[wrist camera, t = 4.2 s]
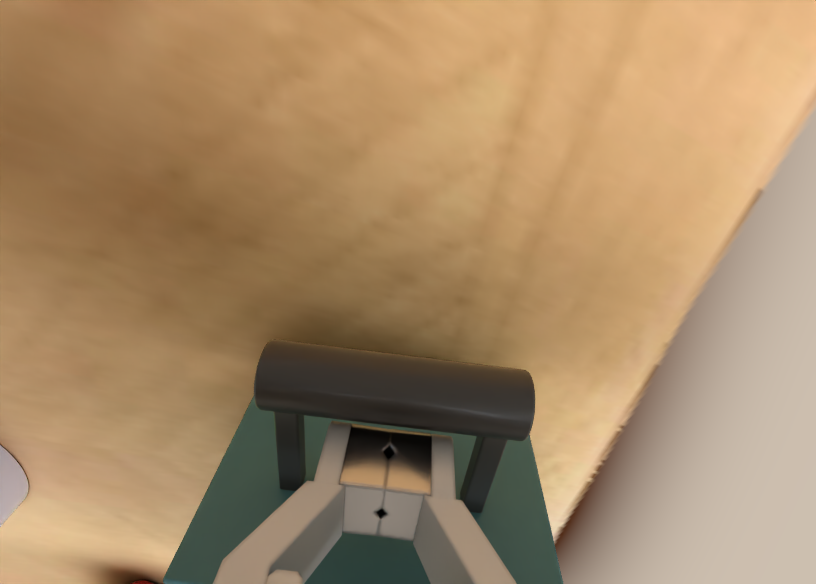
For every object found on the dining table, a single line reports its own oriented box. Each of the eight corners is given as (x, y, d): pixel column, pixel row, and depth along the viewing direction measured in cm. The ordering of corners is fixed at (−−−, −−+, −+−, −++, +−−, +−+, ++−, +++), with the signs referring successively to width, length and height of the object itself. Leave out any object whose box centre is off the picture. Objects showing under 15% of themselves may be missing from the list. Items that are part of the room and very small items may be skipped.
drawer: (259, 246, 13) (101, 440, 7) (559, 283, 13) (667, 508, 7) (283, 541, 22) (225, 739, 16) (461, 562, 22) (471, 766, 16)
